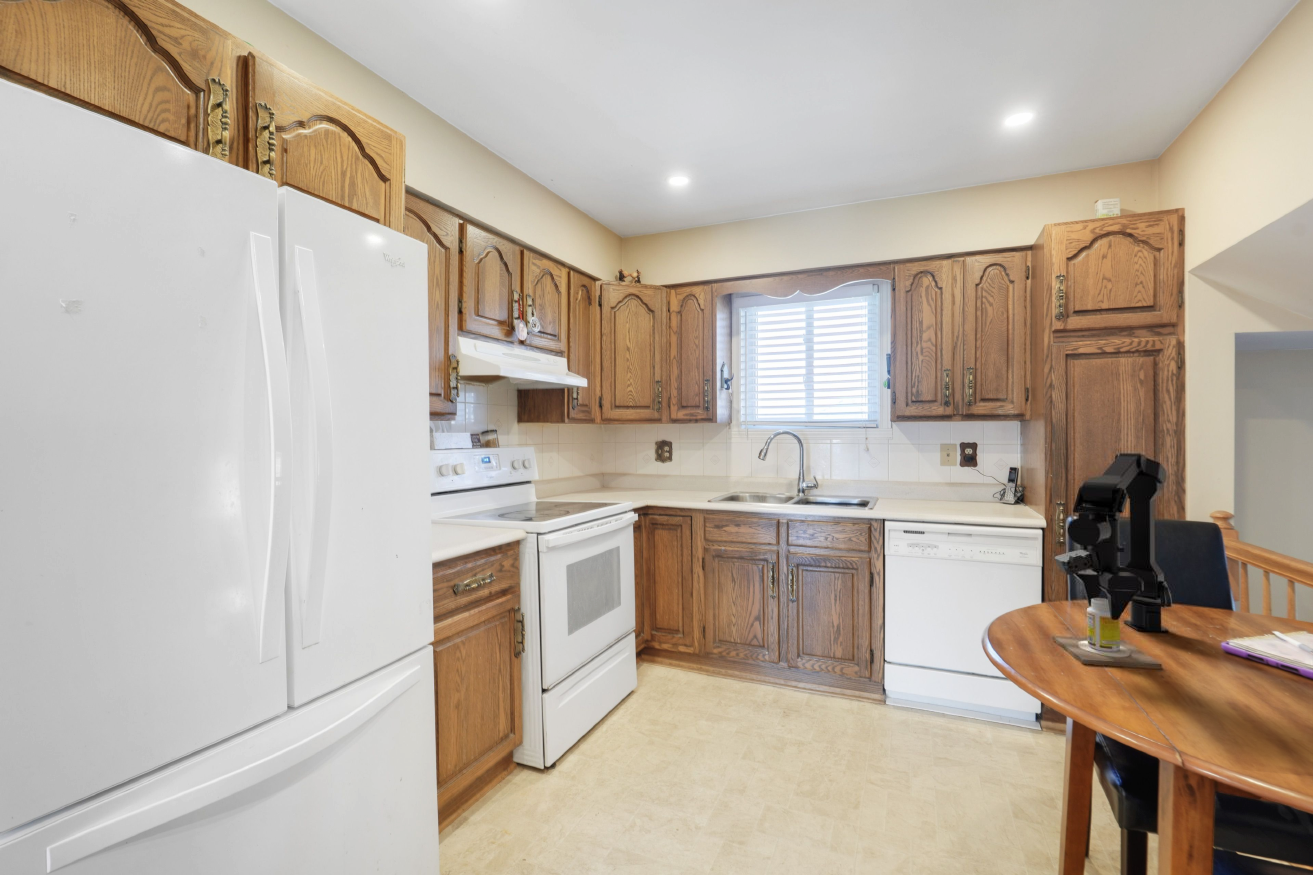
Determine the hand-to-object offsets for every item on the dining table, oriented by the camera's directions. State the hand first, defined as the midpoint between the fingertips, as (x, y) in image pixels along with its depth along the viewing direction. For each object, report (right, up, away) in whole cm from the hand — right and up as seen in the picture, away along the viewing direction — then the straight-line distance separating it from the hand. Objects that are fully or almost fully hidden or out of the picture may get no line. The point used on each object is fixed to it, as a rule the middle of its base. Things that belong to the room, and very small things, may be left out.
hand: (1103, 612), depth 125 cm
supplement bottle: (0, -8, 0) cm, 8 cm away
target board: (0, -9, 0) cm, 9 cm away
